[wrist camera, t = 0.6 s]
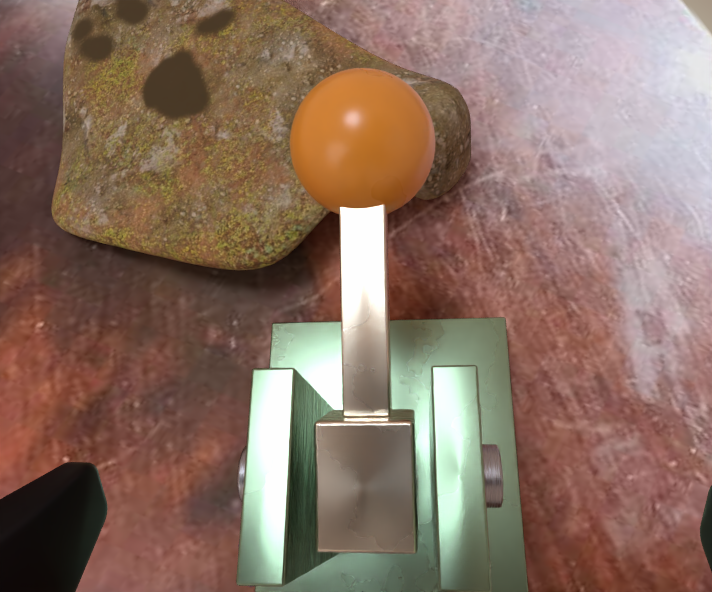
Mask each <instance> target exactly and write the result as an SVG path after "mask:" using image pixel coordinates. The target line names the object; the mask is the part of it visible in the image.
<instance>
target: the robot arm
mask: <svg viewBox="0 0 712 592" xmlns="http://www.w3.org/2000/svg"><path fill="white" fill-rule="evenodd" d="M106 515H107V501H106V498H105V494H104V491H103V487H102V484H101V480H100V477H99V473H98V470H97V468H96V467H95V465H93V464H91V463H84V462H68V463H65V464H63V465H61V466H59V467H57V468H55V469H54V470H52V471H50V472H48V473H46V474H45V475H43V476H41V477H39V478H38V479H36V480H34V481H32V482H30V483H29V484H27V485H25V486H23V487H21V488H20V489H18V490H16V491H14V492H12V493H11V494H9V495H7V496H5V497H4V498H2V499H0V592H75V591H76V589H77V587H78V584H79V582H80V579H81V577H82V575H83V572H84V570H85V567H86V565H87V563H88V560H89V558H90V555H91V553H92V551H93V548H94V546H95V543H96V541H97V539H98V536H99V534H100V531H101V529H102V527H103V524H104V522H105V519H106ZM700 537H701V542H702V546H703V549H704V552H705V554H706V557H707V560H708V563H709V566H710V568H711V571H712V486H711V487H710V489H709V492H708V496H707V501H706V505H705V509H704V513H703V517H702V521H701V526H700Z"/></svg>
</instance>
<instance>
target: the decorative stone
mask: <svg viewBox="0 0 712 592" xmlns="http://www.w3.org/2000/svg"><path fill="white" fill-rule="evenodd" d="M353 68H372V69H378V70H382V71H386V72H388V73H391V74H393V75H395V76H397V77H399V78H400V79H402V80H403V81H404V82H406V83H407V84H408V85H410V86H411V87H412V88H413V89H414V90H415V91H416V92H417V93H418V95H419V96H420V97H421V99H422V100H423V102H424V103H425V105H426V107H427V109H428V111H429V113H430V116H431V118H432V122H433V126H434V132H435V154H434V160H433V164H432V167H431V170H430V173H429V175H428V177H427V179H426V181H425V183H424V184H423V186H422V187H421V189H420V190H419V191H418V192H417V193H416V195H415V196H416V197H417V198H420V199H424V200H430V199H434V198H438V197H440V196H441V195H443V194H445V193H446V192H448V191H449V190H450V189H451V188H452V187H453V186H454V185H455V184H456V183H457V182H458V181H459V179H460V178H461V176H462V175H463V174H464V172H465V171H466V169H467V166H468V164H469V161H470V158H471V121H470V114H469V110H468V107H467V104H466V102H465V101H464V99H463V97H462V95H461V94H460V92H459V91H458V90H457V89H456V88H454V87H453V86H452V85H450V84H448V83H446V82H443V81H441V80H438V79H435V78H432V77H428V76H425V75H422V74H419V73H416V72H413V71H410V70H407V69H404V68H401V67H399V66H397V65H394V64H392V63H389V62H387V61H385V60H383V59H381V58H379V57H377V56H375V55H373V54H372V53H370V52H368V51H366V50H364V49H362V48H361V47H359V46H357V45H355V44H354V43H352V42H350V41H348V40H347V39H345V38H343V37H342V36H340V35H338V34H337V33H335V32H333V31H332V30H330V29H329V28H327V27H325V26H324V25H322V24H320V23H319V22H317V21H316V20H314V19H312V18H311V17H309V16H307V15H306V14H304V13H303V12H301V11H299V10H298V9H296V8H295V7H293V6H291V5H290V4H288V3H287V2H285V1H284V0H79V2H78V5H77V8H76V12H75V15H74V18H73V22H72V25H71V28H70V32H69V35H68V39H67V43H66V48H65V55H64V69H63V144H62V154H61V161H60V167H59V172H58V177H57V182H56V186H55V191H54V195H53V201H52V216H53V218H54V220H55V222H56V224H57V225H58V226H60V227H61V228H62V229H63V230H64V231H67V232H69V233H71V234H73V235H76V236H79V237H82V238H85V239H89V240H93V241H97V242H100V243H104V244H109V245H113V246H117V247H121V248H125V249H129V250H133V251H138V252H142V253H146V254H150V255H155V256H159V257H163V258H168V259H172V260H176V261H181V262H186V263H190V264H195V265H200V266H206V267H212V268H218V269H229V270H252V269H260V268H263V267H266V266H269V265H272V264H275V263H276V262H278V261H279V260H281V259H283V258H284V257H286V256H287V255H288V254H289V253H291V252H292V251H293V250H294V249H295V248H296V247H297V246H298V245H299V244H300V243H301V242H302V241H303V240H304V239H305V238H306V236H307V235H308V234H309V233H310V232H311V231H312V230H313V229H314V228H315V227H316V225H317V224H318V223H319V222H320V221H321V220H322V219H323V218H324V217H325V216H326V215H327V214H328V213H329V212H331V211H330V210H328V209H326V208H325V207H323V206H322V205H320V204H319V203H318V202H317V201H315V200H314V199H313V198H312V197H311V196H310V195H309V194H308V192H307V191H306V190H305V189H304V187H303V186H302V184H301V182H300V181H299V179H298V177H297V175H296V172H295V170H294V167H293V164H292V159H291V153H290V133H291V128H292V123H293V120H294V117H295V114H296V112H297V110H298V108H299V106H300V104H301V102H302V101H303V99H304V98H305V97H306V95H307V94H308V93H309V92H310V91H311V90H312V89H313V88H314V87H315V86H316V85H317V84H318V83H320V82H321V81H323V80H324V79H325V78H327V77H329V76H331V75H333V74H335V73H338V72H340V71H344V70H347V69H353Z"/></svg>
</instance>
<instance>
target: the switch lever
mask: <svg viewBox="0 0 712 592" xmlns="http://www.w3.org/2000/svg"><path fill="white" fill-rule="evenodd" d="M290 153H291V159H292V164H293V167H294V170H295V172H296V175H297V177H298V179H299V181H300V182H301V184H302V186H303V187H304V189H305V190H306V191H307V192H308V194H309V195H310V196H311V197H312V198H313V199H314V200H315V201H317V202H318V203H319V204H320V205H322V206H323V207H325V208H326V209H328V210H330V211H332V212H334V213H336V214H339V225H340V285H341V345H342V406H343V410H331V411H330V412H328V413H327V414H326V415H324V416H323V417H322V418H320V419H319V420H317V421H316V422H315V424H314V463H315V546H316V550H317V551H318V552H339V553H385V554H415V553H416V552H417V548H418V502H417V467H416V431H415V412H414V410H412V409H392V388H391V347H390V306H389V265H388V224H387V214H388V213H391V212H393V211H395V210H397V209H399V208H400V207H402V206H403V205H404V204H406V203H407V202H408V201H409V200H411V199H412V198H413V197H414V196H415V195H416V193H417V192H418V191H419V190H420V189H421V187H422V186H423V184H424V183H425V181H426V179H427V177H428V175H429V173H430V170H431V167H432V164H433V160H434V154H435V132H434V126H433V122H432V118H431V116H430V113H429V111H428V109H427V107H426V105H425V103H424V102H423V100H422V99H421V97H420V96H419V95H418V93H417V92H416V91H415V90H414V89H413V88H412V87H411V86H410V85H408V84H407V83H406V82H404V81H403V80H402V79H400V78H399V77H397V76H395V75H393V74H391V73H388V72H386V71H382V70H378V69H372V68H353V69H347V70H344V71H340V72H338V73H335V74H333V75H331V76H329V77H327V78H325V79H324V80H323V81H321V82H320V83H318V84H317V85H316V86H315V87H314V88H313V89H312V90H311V91H310V92H309V93H308V94H307V95H306V97H305V98H304V99H303V101H302V102H301V104H300V106H299V108H298V110H297V112H296V114H295V117H294V120H293V123H292V128H291V133H290Z"/></svg>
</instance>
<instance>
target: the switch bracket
mask: <svg viewBox="0 0 712 592" xmlns="http://www.w3.org/2000/svg"><path fill="white" fill-rule="evenodd" d="M390 347H391V388H392V409H412V410H414V412H415V431H416V467H417V502H418V548H417V552H416V553H415V554H385V553H339V552H318V551H317V550H316V546H315V463H314V424H315V422H316V421H317V420H319V419H320V418H322V417H323V416H324V415H326V414H327V413H328V412H330V411H331V410H343V406H342V345H341V321H331V322H290V323H272V333H271V349H270V364H269V368H254V369H253V370H252V379H251V392H250V405H249V419H248V432H247V445H246V446H245V447H244V449H243V451H242V454H241V457H240V461H239V466H238V480H237V481H238V492H239V497H240V500H241V502H242V512H241V525H240V539H239V552H238V565H237V579H236V583H237V585H239V586H255V592H528V581H527V569H526V557H525V545H524V533H523V521H522V509H521V497H520V485H519V473H518V461H517V449H516V438H515V426H514V414H513V402H512V390H511V378H510V366H509V354H508V342H507V330H506V319H505V318H504V317H496V318H455V319H413V320H390Z"/></svg>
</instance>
